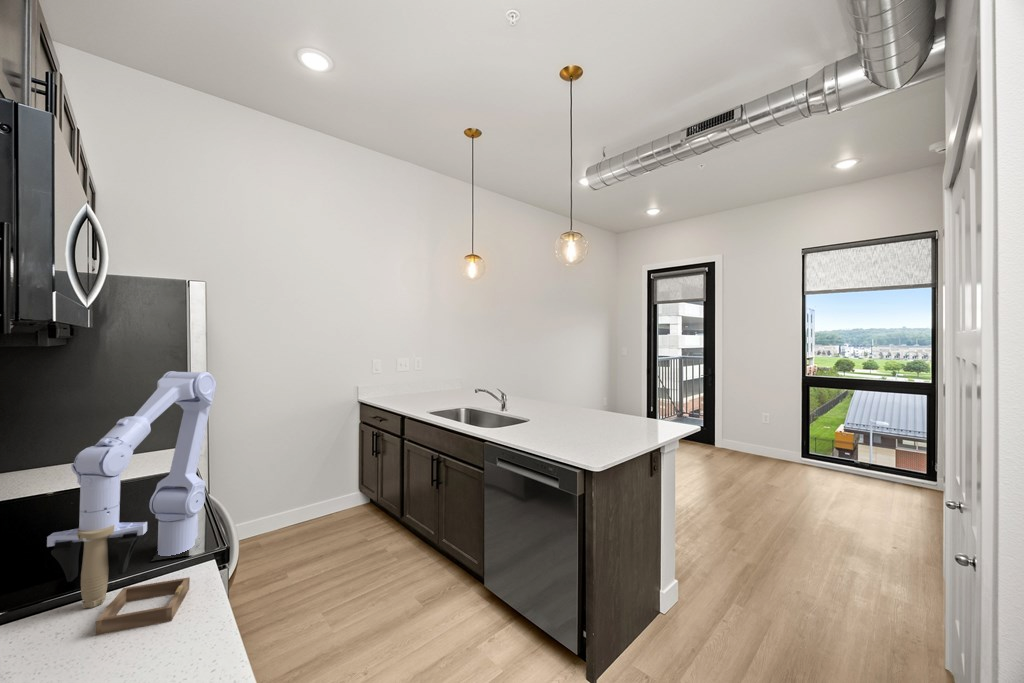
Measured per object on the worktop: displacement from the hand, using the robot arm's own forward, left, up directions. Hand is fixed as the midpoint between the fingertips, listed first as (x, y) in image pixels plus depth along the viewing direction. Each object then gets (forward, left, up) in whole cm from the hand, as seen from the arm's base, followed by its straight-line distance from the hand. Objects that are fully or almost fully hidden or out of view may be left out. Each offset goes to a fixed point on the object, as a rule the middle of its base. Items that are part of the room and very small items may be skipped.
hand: (98, 575), depth 84 cm
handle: (+1, 0, -5) cm, 5 cm away
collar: (+7, +10, -5) cm, 13 cm away
